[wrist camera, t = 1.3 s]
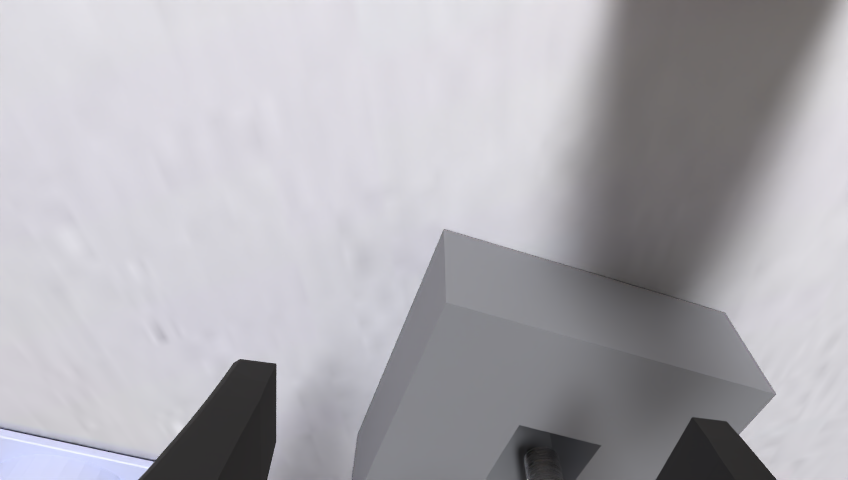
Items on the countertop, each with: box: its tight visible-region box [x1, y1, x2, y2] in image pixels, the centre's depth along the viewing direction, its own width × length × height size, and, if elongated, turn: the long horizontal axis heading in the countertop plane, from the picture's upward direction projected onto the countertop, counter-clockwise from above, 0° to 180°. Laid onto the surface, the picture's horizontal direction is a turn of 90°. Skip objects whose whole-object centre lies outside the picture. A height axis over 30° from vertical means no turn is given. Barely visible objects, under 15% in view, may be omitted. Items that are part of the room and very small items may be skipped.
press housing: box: [352, 229, 776, 480], centre depth 23 cm, size 11×11×4 cm
